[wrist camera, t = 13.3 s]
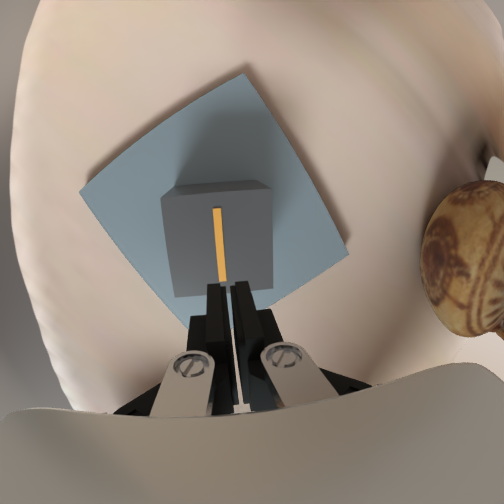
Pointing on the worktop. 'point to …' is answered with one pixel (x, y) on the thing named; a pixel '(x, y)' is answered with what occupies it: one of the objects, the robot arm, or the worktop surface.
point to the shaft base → (210, 171)
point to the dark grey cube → (218, 235)
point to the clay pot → (467, 259)
